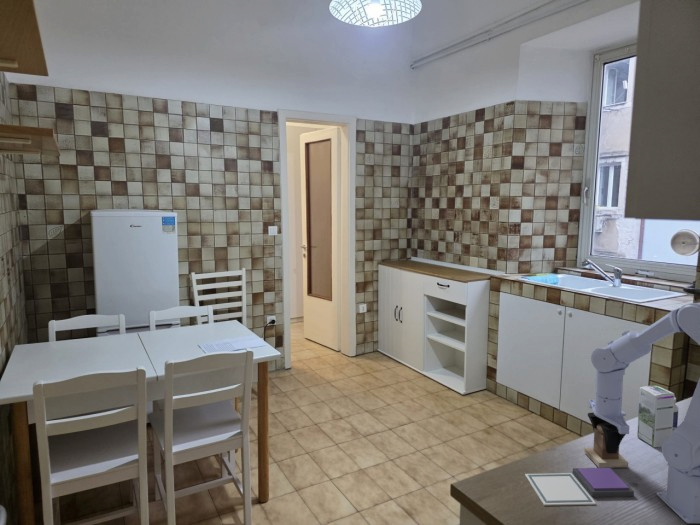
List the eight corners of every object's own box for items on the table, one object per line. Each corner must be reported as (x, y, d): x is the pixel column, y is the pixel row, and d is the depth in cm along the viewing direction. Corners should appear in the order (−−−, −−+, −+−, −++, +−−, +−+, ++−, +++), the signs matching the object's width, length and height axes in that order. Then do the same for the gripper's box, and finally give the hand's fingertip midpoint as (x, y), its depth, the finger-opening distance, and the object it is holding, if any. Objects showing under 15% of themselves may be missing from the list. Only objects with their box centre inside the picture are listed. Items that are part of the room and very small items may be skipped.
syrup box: (672, 445, 119) (676, 392, 117) (652, 448, 118) (656, 394, 116) (654, 435, 125) (658, 384, 123) (635, 437, 124) (638, 386, 122)
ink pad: (633, 496, 99) (634, 489, 99) (592, 497, 99) (592, 490, 99) (610, 472, 108) (610, 466, 108) (572, 473, 108) (572, 466, 108)
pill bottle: (681, 434, 124) (684, 400, 123) (661, 435, 125) (663, 401, 123) (668, 425, 130) (670, 392, 129) (649, 425, 130) (651, 393, 129)
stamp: (628, 468, 110) (629, 434, 108) (598, 468, 110) (600, 434, 109) (611, 452, 116) (613, 420, 115) (584, 453, 117) (585, 420, 115)
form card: (596, 504, 97) (596, 502, 97) (544, 505, 97) (544, 503, 97) (571, 474, 108) (571, 472, 108) (524, 475, 108) (524, 473, 108)
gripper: (643, 407, 104) (640, 463, 105) (608, 383, 118) (606, 432, 120) (612, 408, 104) (610, 464, 105) (581, 383, 118) (579, 433, 120)
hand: (606, 447), depth 113 cm, fingers closed on stamp, 4 cm apart
